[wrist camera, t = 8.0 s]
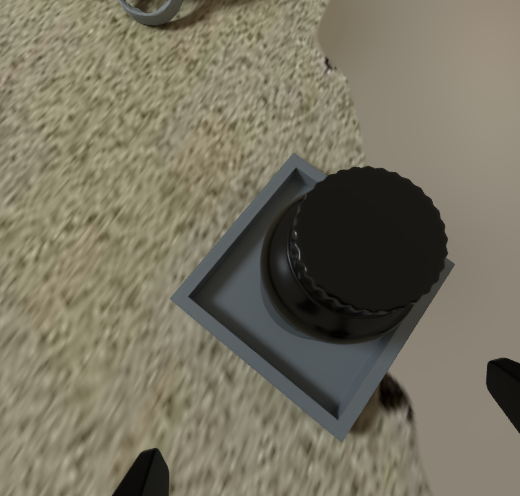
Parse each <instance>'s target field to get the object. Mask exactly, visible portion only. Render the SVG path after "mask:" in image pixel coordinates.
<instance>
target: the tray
mask: <svg viewBox="0 0 520 496" xmlns="http://www.w3.org/2000/svg"><path fill="white" fill-rule="evenodd" d="M326 177H327V175H325V174H324V173H322V172H321V171H319V170H318V169H316V168H315V167H313V166H312V165H311V164H309V163H308V162H306V161H305V160H303V159H302V158H300V157H299V156H298V155H296V154H295V153H293V154H292V155H291V156H290V158H289V159H288V160H287V161H286V162H285V164H284V165H283V166H282V167H281V168H280V169H279V171H278V172H277V173H276V174H275V175H274V176H273V178H272V179H271V180H270V181H269V182H268V184H267V185H266V186H265V187H264V188H263V189H262V191H261V192H260V193H259V194H258V195H257V196H256V198H255V199H254V200H253V201H252V202H251V204H250V205H249V206H248V207H247V208H246V209H245V211H244V212H243V213H242V214H241V215H240V217H239V218H238V219H237V220H236V221H235V222H234V224H233V225H232V226H231V227H230V228H229V229H228V231H227V232H226V233H225V234H224V235H223V237H222V238H221V239H220V240H219V241H218V242H217V244H216V245H215V246H214V247H213V248H212V250H211V251H210V252H209V253H208V254H207V255H206V257H205V258H204V259H203V260H202V261H201V262H200V264H199V265H198V266H197V267H196V268H195V270H194V271H193V272H192V273H191V274H190V275H189V277H188V278H187V279H186V280H185V281H184V283H183V284H182V285H181V286H180V287H179V288H178V290H177V291H176V292H175V293H174V294H173V295H172V297H171V298H170V299H171V300H172V301H173V302H174V303H175V304H176V305H178V306H179V307H180V308H181V309H182V310H184V311H185V312H186V313H187V314H188V315H190V316H191V317H192V318H193V319H194V320H196V321H197V322H198V323H199V324H200V325H202V326H203V327H204V328H205V329H206V330H208V331H209V332H210V333H211V334H212V335H214V336H215V337H216V338H217V339H218V340H220V341H221V342H222V343H223V344H224V345H226V346H227V347H228V348H229V349H230V350H232V351H233V352H234V353H235V354H236V355H238V356H239V357H240V358H241V359H242V360H244V361H245V362H246V363H247V364H248V365H250V366H251V367H252V368H253V369H254V370H256V371H257V372H258V373H259V374H260V375H262V376H263V377H264V378H265V379H266V380H267V381H269V382H270V383H271V384H272V385H273V386H275V387H276V388H277V389H278V390H279V391H281V392H282V393H283V394H284V395H285V396H287V397H288V398H289V399H290V400H291V401H293V402H294V403H295V404H296V405H297V406H299V407H300V408H301V409H302V410H303V411H305V412H306V413H307V414H308V415H309V416H311V417H312V418H313V419H314V420H315V421H317V422H318V423H319V424H320V425H321V426H323V427H324V428H325V429H326V430H327V431H329V432H330V433H331V434H332V435H333V436H335V437H336V438H337V439H338V440H339V441H341V442H343V440H344V438H345V437H346V435H347V434H348V432H349V430H350V429H351V427H352V426H353V424H354V423H355V421H356V419H357V418H358V416H359V415H360V413H361V412H362V410H363V408H364V407H365V405H366V404H367V402H368V401H369V399H370V397H371V396H372V394H373V393H374V391H375V390H376V388H377V386H378V385H379V383H380V382H381V380H382V379H383V377H384V375H385V374H386V372H387V371H388V369H389V367H390V366H391V364H392V363H393V361H394V360H395V358H396V357H397V355H398V353H399V352H400V350H401V349H402V347H403V345H404V344H405V342H406V340H407V339H408V338H409V336H410V334H411V333H412V331H413V330H414V328H415V327H416V325H417V323H418V322H419V320H420V319H421V317H422V316H423V314H424V312H425V311H426V309H427V308H428V306H429V304H430V303H431V301H432V300H433V298H434V297H435V295H436V294H437V292H438V290H439V289H440V287H441V286H442V284H443V283H444V281H445V279H446V278H447V276H448V275H449V273H450V271H451V270H452V268H453V267H454V265H455V264H454V263H453V262H451V261H449V260H448V259H447V258H445V260H444V261H445V268H444V269H443V271H442V272H441V273H440V277H439V281H438V282H437V283H435V284H433V285H432V288H431V290H430V293H428V294H426V295H423V296H422V297H421V298H420V300H419V301H418V302H417V303H415V304H414V306H413V308H412V310H411V311H410V312H409V314H408V315H407V317H406V318H405V319H404V320H403V321H402V322H401V323H400V324H399V325H398V326H397V327H396V328H394V329H393V330H391V331H390V332H389V333H387V334H385V335H383V336H381V337H379V338H377V339H375V340H372V341H368V342H364V343H359V344H350V345H338V344H329V343H324V342H319V341H314V340H308V339H304V338H300V337H297V336H295V335H292V334H290V333H288V332H287V331H285V330H284V329H282V328H281V327H280V326H279V325H278V324H277V323H276V322H275V321H274V320H273V319H272V318H271V316H270V315H269V313H268V312H267V310H266V308H265V305H264V303H263V299H262V295H261V288H260V256H261V249H262V244H263V241H264V238H265V234H266V232H267V230H268V228H269V226H270V224H271V222H272V221H273V219H274V218H275V216H276V215H277V214H278V213H279V212H280V210H281V209H282V208H284V207H285V206H286V205H287V204H288V203H289V202H291V201H292V200H293V199H295V198H297V197H298V196H300V195H302V194H304V193H307V192H309V191H310V190H312V189H313V188H314V186H315V184H316V183H317V182H320V181H323V180H324V179H325V178H326Z"/></svg>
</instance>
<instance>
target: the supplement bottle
mask: <svg viewBox="0 0 520 496" xmlns="http://www.w3.org/2000/svg"><path fill="white" fill-rule="evenodd" d="M447 241H448V238H447V236H446V234H445V224H444V223H443V221H442V220H441V218H440V212H439V210H438V209H437V208H436V207H435V206H434V205H433V202H432V199H431V198H429V197H428V196H426V195H425V194H424V192H423V190H422V189H421V188H420V187H418V186H416V185H414V184H413V183H412V182H411V181H410V180H409V179H407V178H403V177H401V176H400V175H399V174H398V173H396V172H388V171H387V170H385V169H383V168H373V167H370V166H366V167H363V168H360V167H352V168H350V169H349V170H339V171H338V172H337V173H336V174H331V175H327V177H326V178H325V179H324V180H323V181H320V182H317V183H316V184H315V186H314V188H313V189H312V190H310V191H309V192H307V193H304V194H302V195H300V196H298V197H297V198H295V199H293V200H292V201H291V202H289V203H288V204H287V205H286V206H285V207H284V208H282V209H281V210H280V212H279V213H278V214H277V215H276V216H275V218H274V219H273V221H272V222H271V224H270V226H269V228H268V230H267V232H266V234H265V238H264V241H263V244H262V249H261V256H260V288H261V295H262V299H263V303H264V305H265V308H266V310H267V312H268V313H269V315H270V316H271V318H272V319H273V320H274V321H275V322H276V323H277V324H278V325H279V326H280V327H281V328H282V329H284V330H285V331H287V332H288V333H290V334H292V335H295V336H297V337H300V338H304V339H308V340H314V341H319V342H324V343H329V344H338V345H350V344H359V343H364V342H368V341H372V340H375V339H377V338H379V337H381V336H383V335H385V334H387V333H389V332H390V331H391V330H393V329H394V328H396V327H397V326H398V325H399V324H400V323H401V322H402V321H403V320H404V319H405V318H406V317H407V315H408V314H409V312H410V311H411V310H412V308H413V306H414V304H415V303H417V302H418V301H419V300H420V298H421V297H422V296H423V295H426V294H428V293H430V290H431V288H432V285H433V284H435V283H437V282H438V281H439V277H440V273H441V272H442V271H443V269H444V268H445V261H444V260H445V258H446V256H447V254H448V252H447V248H446V244H447Z"/></svg>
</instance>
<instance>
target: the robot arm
mask: <svg viewBox="0 0 520 496" xmlns="http://www.w3.org/2000/svg"><path fill="white" fill-rule="evenodd" d="M486 385H487V388H488V391H489V392H490V394H491V395H492V397H493V398H494V399H495V401H496V402H497V403H498V405H499V406H500V408H501V409H502V410H503V411H504V413H505V414H506V416H507V417H508V418H509V419H510V421H511V423H512V424H513V425H514V427H515V428H516V429H517V431H518V432H519V433H520V363H518V362H515V361H513V360H510V359H508V358H499V359H495V360H491V361H489V362H488V364H487V377H486ZM112 496H169V470H168V466H167V464H166V462H165V460H164V459H163V457H162V455H161V453H160V451H159V449H157V448H153V449H149V450H145V451H143V452H141V453H140V454H139V456H138V457H137V459H136V460H135V462H134V463H133V465H132V466H131V468H130V469H129V471H128V472H127V474H126V475H125V477H124V478H123V480H122V481H121V483H120V484H119V486H118V487H117V489H116V490H115V492H114V493H113V495H112Z"/></svg>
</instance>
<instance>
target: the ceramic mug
mask: <svg viewBox="0 0 520 496" xmlns="http://www.w3.org/2000/svg"><path fill="white" fill-rule="evenodd" d="M118 1H119V3H120V5H121V6H122V7H123V9H124V10H125V11H126V12H127V13H128V14H129V15H130V16H131V17H132V18H133V19H134V20H136V21H138V22H139V23H142V24H145V25H162V24H164V23H167V22H168V21H170V20H171V19H172V18H173V17H174V16H175V15H176V14H177V12H178V11H179V9H180V7H181V5H182V1H183V0H168V1H167V2H166V3H165V5H163V6H162V7H161V8H160V9H159V10H157V11H155V12H154V13H149V14H148V13H144V12H142V11H141V10H140V9H139V8H134V7H132V6H131V5H130V4H128V3H127V2H126V1H125V0H118Z"/></svg>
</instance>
